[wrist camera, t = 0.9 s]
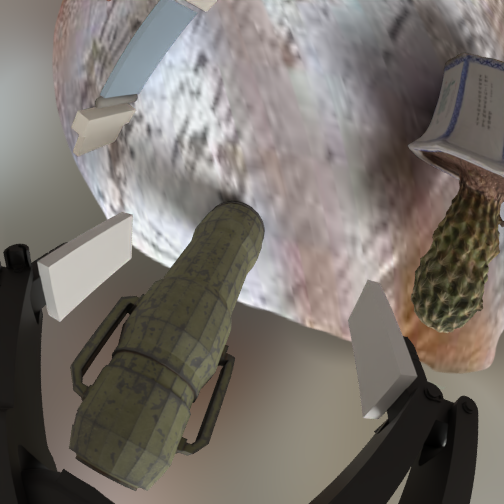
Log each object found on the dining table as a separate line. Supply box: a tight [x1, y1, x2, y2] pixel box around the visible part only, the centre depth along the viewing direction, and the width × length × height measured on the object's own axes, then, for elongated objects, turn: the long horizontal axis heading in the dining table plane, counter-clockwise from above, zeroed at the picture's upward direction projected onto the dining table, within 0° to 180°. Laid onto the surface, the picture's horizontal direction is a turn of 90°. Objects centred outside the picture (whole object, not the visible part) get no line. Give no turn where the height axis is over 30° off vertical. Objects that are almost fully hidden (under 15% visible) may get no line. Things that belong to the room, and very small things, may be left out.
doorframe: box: [71, 0, 217, 156], centre depth 25 cm, size 29×2×10 cm, turn 140°
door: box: [95, 0, 197, 108], centre depth 25 cm, size 16×1×8 cm, turn 140°
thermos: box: [69, 201, 265, 491], centre depth 26 cm, size 9×12×35 cm
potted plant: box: [408, 53, 504, 333], centre depth 21 cm, size 18×18×30 cm
